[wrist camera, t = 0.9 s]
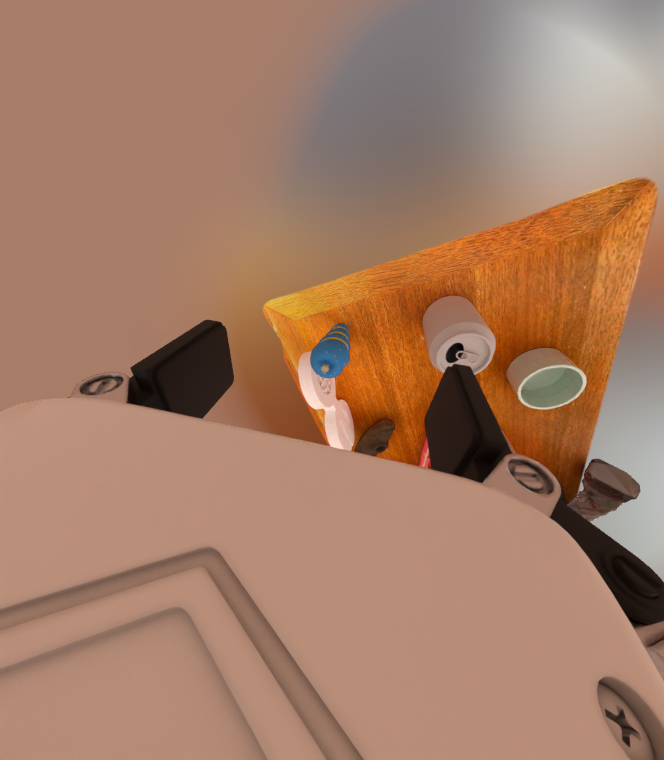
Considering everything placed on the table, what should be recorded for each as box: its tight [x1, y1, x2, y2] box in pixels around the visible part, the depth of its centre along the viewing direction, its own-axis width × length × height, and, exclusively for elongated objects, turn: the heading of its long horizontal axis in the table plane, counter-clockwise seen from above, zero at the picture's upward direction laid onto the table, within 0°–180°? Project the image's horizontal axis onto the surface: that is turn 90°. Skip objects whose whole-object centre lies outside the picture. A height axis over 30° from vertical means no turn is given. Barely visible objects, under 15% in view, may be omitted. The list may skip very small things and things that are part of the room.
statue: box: [567, 459, 640, 521], centre depth 55 cm, size 8×7×30 cm
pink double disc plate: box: [298, 351, 354, 451], centre depth 48 cm, size 22×2×10 cm, turn 21°
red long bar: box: [418, 436, 430, 468], centre depth 57 cm, size 24×2×5 cm
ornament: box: [310, 324, 350, 378], centre depth 38 cm, size 5×5×15 cm
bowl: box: [507, 348, 586, 409], centre depth 40 cm, size 8×8×5 cm
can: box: [422, 296, 496, 375], centre depth 35 cm, size 8×8×12 cm
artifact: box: [354, 419, 395, 456], centre depth 57 cm, size 9×5×20 cm
